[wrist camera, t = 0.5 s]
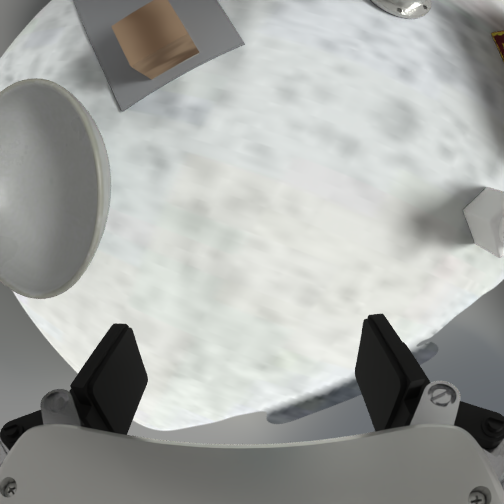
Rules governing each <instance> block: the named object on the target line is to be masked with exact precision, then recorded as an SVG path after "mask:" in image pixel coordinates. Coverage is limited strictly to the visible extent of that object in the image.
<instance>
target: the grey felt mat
mask: <svg viewBox="0 0 504 504" xmlns="http://www.w3.org/2000/svg"><path fill="white" fill-rule="evenodd" d="M151 1H153V0H74V3H75V6H76V8H77V11H78V13H79V16H80V18H81V21H82V23H83V25H84V28H85V30H86V33H87V35H88V37H89V40H90V42H91V44H92V47H93V49H94V51H95V54H96V56H97V58H98V60H99V63H100V65H101V67H102V69H103V72H104V74H105V76H106V78H107V80H108V83H109V85H110V87H111V89H112V91H113V93H114V95H115V97H116V100H117V102H118V104H119V106H120V108H121V110H122V111H125V110H126V109H128V108H129V107H130V106H132V105H133V104H135V103H136V102H138V101H139V100H141V99H143V98H144V97H146V96H147V95H149V94H150V93H152V92H154V91H155V90H157V89H159V88H160V87H162V86H164V85H165V84H167V83H169V82H170V81H172V80H174V79H176V78H177V77H179V76H181V75H183V74H185V73H186V72H188V71H190V70H192V69H194V68H196V67H198V66H200V65H202V64H204V63H206V62H208V61H210V60H212V59H214V58H216V57H218V56H220V55H222V54H224V53H226V52H229V51H231V50H233V49H235V48H238V47H240V46H242V45H245V43H244V42H243V40H242V39H241V37H240V35H239V34H238V32H237V31H236V29H235V27H234V26H233V24H232V23H231V21H230V20H229V18H228V16H227V15H226V13H225V12H224V10H223V9H222V7H221V6H220V4H219V3H218V2H217V0H168V1H169V3H170V4H171V6H172V7H173V9H174V10H175V12H176V14H177V15H178V17H179V18H180V20H181V22H182V23H183V25H184V27H185V28H186V30H187V32H188V33H189V35H190V37H191V38H192V40H193V42H194V44H195V45H196V47H197V49H198V51H199V52H200V53H199V54H197V55H195V56H193V57H191V58H189V59H187V60H185V61H184V62H182V63H180V64H178V65H176V66H175V67H173V68H171V69H169V70H168V71H166V72H164V73H162V74H161V75H159V76H157V77H156V78H154V79H152V80H151V79H150V78H148V77H147V76H145V75H143V74H142V73H140V72H138V71H137V70H135V69H134V68H132V67H131V66H130V64H129V62H128V60H127V58H126V56H125V54H124V52H123V50H122V48H121V46H120V44H119V41H118V39H117V37H116V35H115V33H114V31H113V29H112V27H111V26H113V25H114V24H116V23H117V22H119V21H120V20H122V19H123V18H125V17H126V16H128V15H129V14H131V13H133V12H134V11H136V10H138V9H139V8H141V7H143V6H144V5H146V4H148V3H150V2H151Z"/></svg>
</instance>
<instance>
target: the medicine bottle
mask: <svg viewBox="0 0 504 504" xmlns="http://www.w3.org/2000/svg"><path fill="white" fill-rule="evenodd" d="M463 212H464V215H465V218H466V220H467V223H468V226H469V228H470V231H471V234H472V237H473V240H474V243H475V244H476V245H478V246H480V247H481V248H483V249H485V250H487V251H488V252H490V253H492V254H494V255H495V256H497V257H499V258H501V257H502V256H503V255H504V192H503V191H500V190H496V189H493V188H489V187H486V188H485V189H484V190H483V191H482V192H481V193H480V194H479V195H478V196H477V197H476V198H475V199H474V200H473V201H472V202H471V203H470V204H469V205H468V206H467V207H466V208H465V209H464V210H463Z"/></svg>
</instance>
